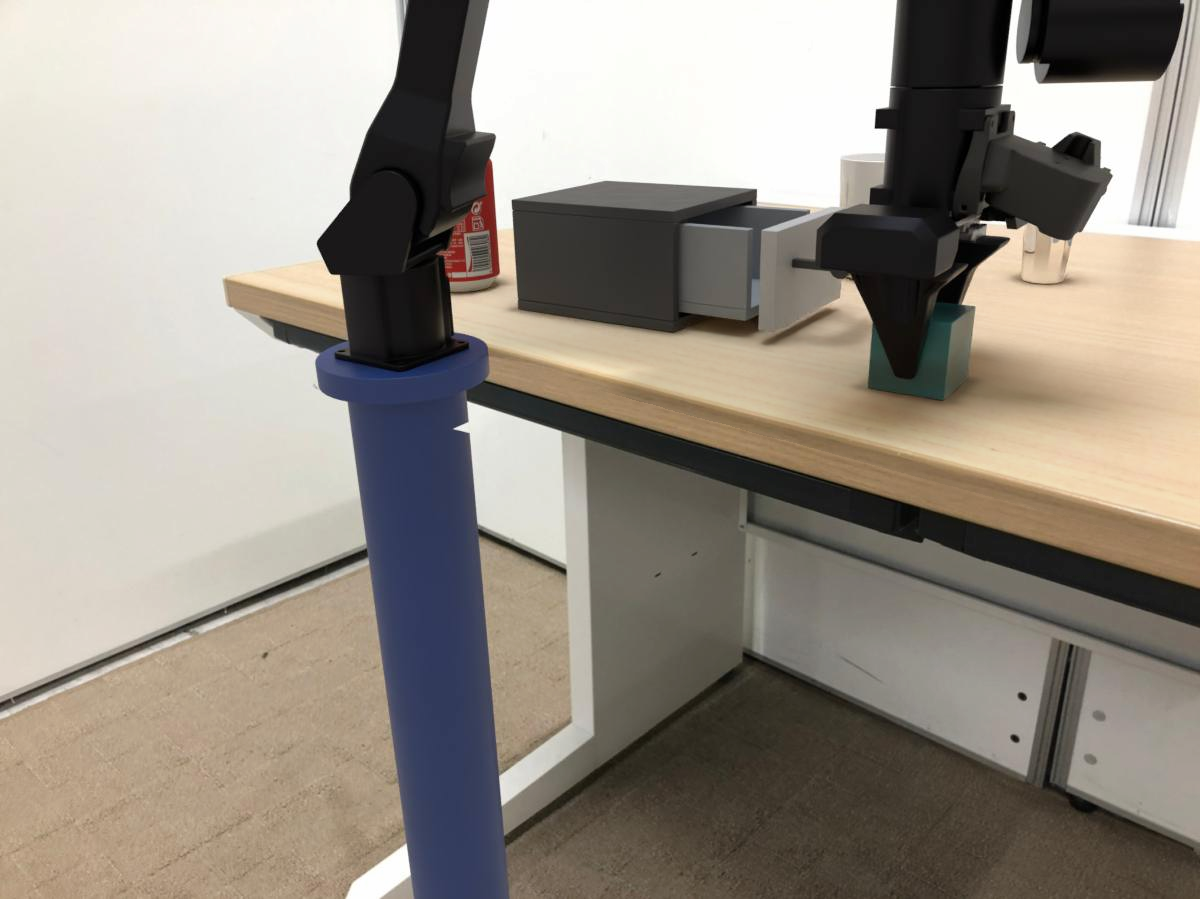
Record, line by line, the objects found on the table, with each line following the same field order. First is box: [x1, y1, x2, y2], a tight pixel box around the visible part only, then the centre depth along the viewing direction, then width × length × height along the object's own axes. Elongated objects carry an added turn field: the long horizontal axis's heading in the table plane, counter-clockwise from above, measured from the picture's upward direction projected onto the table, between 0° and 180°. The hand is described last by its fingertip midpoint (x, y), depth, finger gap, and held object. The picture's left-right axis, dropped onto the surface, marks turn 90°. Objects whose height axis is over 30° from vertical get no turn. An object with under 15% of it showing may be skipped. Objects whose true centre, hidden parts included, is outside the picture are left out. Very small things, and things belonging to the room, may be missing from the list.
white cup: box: [839, 151, 885, 279], centre depth 85 cm, size 8×8×10 cm
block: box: [867, 302, 977, 401], centre depth 58 cm, size 4×4×4 cm
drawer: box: [678, 205, 851, 333], centre depth 72 cm, size 18×11×7 cm, turn 55°
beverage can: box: [437, 157, 501, 293], centre depth 85 cm, size 6×6×12 cm
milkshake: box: [1020, 223, 1074, 285], centre depth 81 cm, size 5×5×10 cm
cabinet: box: [511, 180, 758, 333], centre depth 78 cm, size 15×13×9 cm
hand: (918, 367), depth 58 cm, fingers closed on block, 4 cm apart
